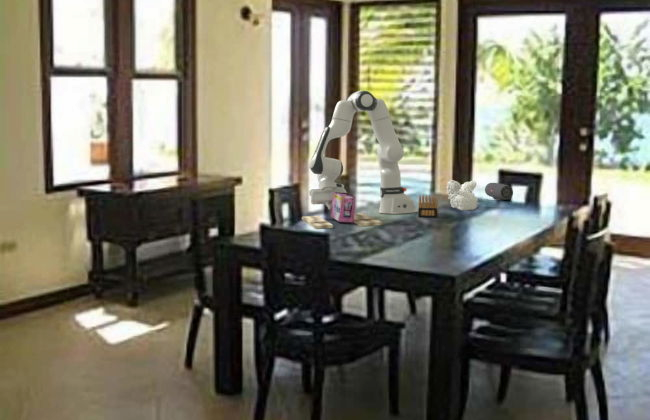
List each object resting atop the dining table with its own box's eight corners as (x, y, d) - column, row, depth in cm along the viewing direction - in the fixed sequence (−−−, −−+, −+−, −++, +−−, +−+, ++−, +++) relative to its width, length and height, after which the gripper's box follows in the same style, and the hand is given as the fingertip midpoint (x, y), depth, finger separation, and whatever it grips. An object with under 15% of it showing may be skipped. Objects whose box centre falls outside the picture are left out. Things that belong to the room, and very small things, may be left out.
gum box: (354, 223, 462) (356, 196, 461) (339, 222, 461) (341, 196, 460) (345, 217, 486) (346, 192, 485) (330, 216, 484) (332, 191, 483)
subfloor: (363, 215, 491) (363, 212, 491) (381, 224, 452) (381, 221, 452) (301, 219, 485) (301, 216, 485) (315, 228, 446) (315, 225, 446)
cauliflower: (468, 195, 492) (447, 174, 505) (454, 224, 502) (434, 203, 515) (493, 194, 502) (472, 174, 515) (479, 222, 512) (459, 202, 525)
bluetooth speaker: (483, 198, 557) (483, 182, 556) (497, 197, 560) (497, 181, 558) (499, 201, 536) (499, 185, 534) (514, 201, 538) (513, 184, 537)
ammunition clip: (438, 217, 474) (438, 194, 473) (437, 217, 472) (437, 195, 471) (419, 217, 478) (418, 194, 477) (418, 217, 477) (417, 194, 475)
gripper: (309, 185, 486) (312, 206, 478) (346, 184, 490) (350, 204, 481) (308, 193, 491) (311, 213, 483) (345, 191, 495) (348, 211, 486)
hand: (331, 208), depth 482 cm, fingers closed
